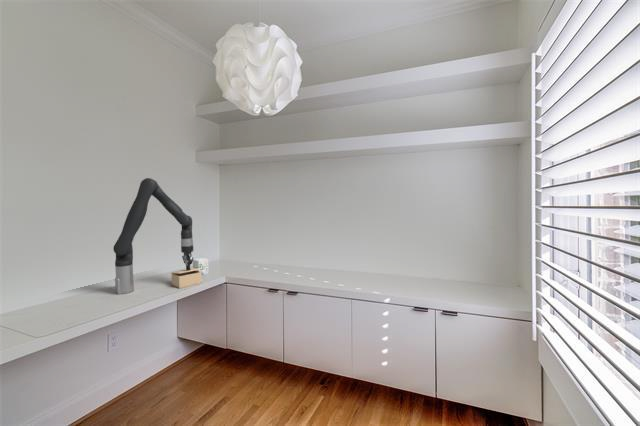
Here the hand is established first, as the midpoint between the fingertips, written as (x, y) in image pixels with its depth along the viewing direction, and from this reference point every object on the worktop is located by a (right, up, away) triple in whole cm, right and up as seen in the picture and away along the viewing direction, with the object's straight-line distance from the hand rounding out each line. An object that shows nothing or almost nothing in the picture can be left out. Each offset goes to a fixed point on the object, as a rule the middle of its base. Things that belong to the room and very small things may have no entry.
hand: (188, 270), depth 199 cm
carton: (-2, -10, +2) cm, 11 cm away
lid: (-2, -1, +2) cm, 3 cm away
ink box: (-4, -9, +30) cm, 31 cm away
